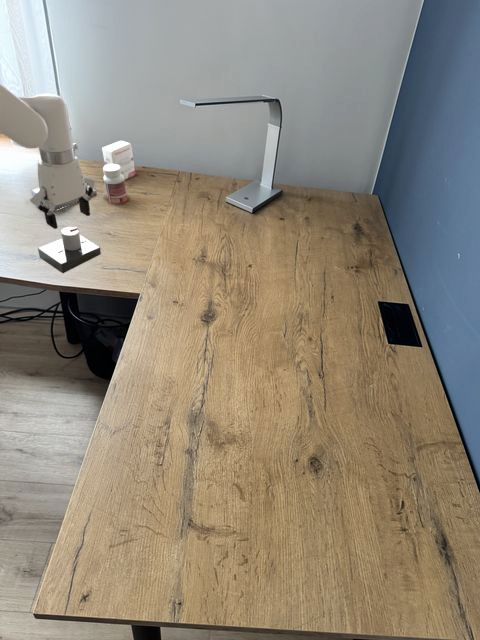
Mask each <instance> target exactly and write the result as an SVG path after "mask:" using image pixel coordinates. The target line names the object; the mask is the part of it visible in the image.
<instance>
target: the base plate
mask: <svg viewBox="0 0 480 640" xmlns="http://www.w3.org/2000/svg"><path fill="white" fill-rule="evenodd" d="M80 241H81V248H79V249H78V250H73V251H70V250H66V249H65V248H64V246H63V240H62V238H60V239H57V240H54V241H52V242H49V243H48V244H45V245H42V246H39V247H37V251H38V255H39V256H38V257H39V259H41V260H42V261H44V262H45V263H47V264H48V265H50V266H51V267H53V268H54V269H55V270H57V271H58V272H60V273H61V274H65V273H67V272H69V271H72V270H73V269H75V268H77V267H80V266H81V265H82V264H84V263H87V262H88V261H91V260H93V259H95V258H97V257H98V256H99V257H100V256H101V255H102V252H101V247H100V246H98V245H97V244H96V243H94V242H93V241H91V240H89V239H88V238H86V237H84V235H81V234H80Z"/></svg>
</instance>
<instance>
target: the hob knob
mask: <svg viewBox="0 0 480 640" xmlns="http://www.w3.org/2000/svg"><path fill="white" fill-rule="evenodd" d="M60 234H61V239H62V240H63V246H64V248H65V249H66V250H70V251H73V250H78V249H79V248H81V241H80V235H81V234H80V230H79V227H78V226H66V227H63V228H62V229H61V230H60Z"/></svg>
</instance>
